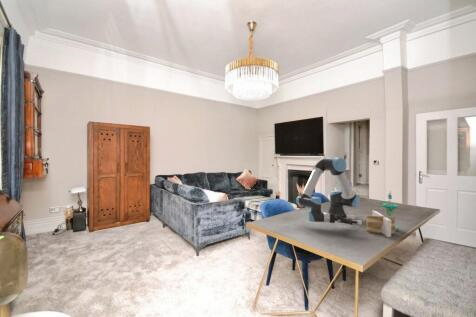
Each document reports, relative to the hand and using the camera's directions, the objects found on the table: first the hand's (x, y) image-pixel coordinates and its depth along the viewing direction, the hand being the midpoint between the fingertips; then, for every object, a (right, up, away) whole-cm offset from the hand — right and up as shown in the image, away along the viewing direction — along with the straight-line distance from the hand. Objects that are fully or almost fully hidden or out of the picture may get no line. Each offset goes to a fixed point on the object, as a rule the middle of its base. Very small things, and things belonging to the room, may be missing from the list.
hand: (358, 219), depth 164 cm
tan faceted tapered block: (+15, -9, -3) cm, 17 cm away
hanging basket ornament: (+28, -9, +6) cm, 30 cm away
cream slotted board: (+18, -9, +1) cm, 20 cm away
